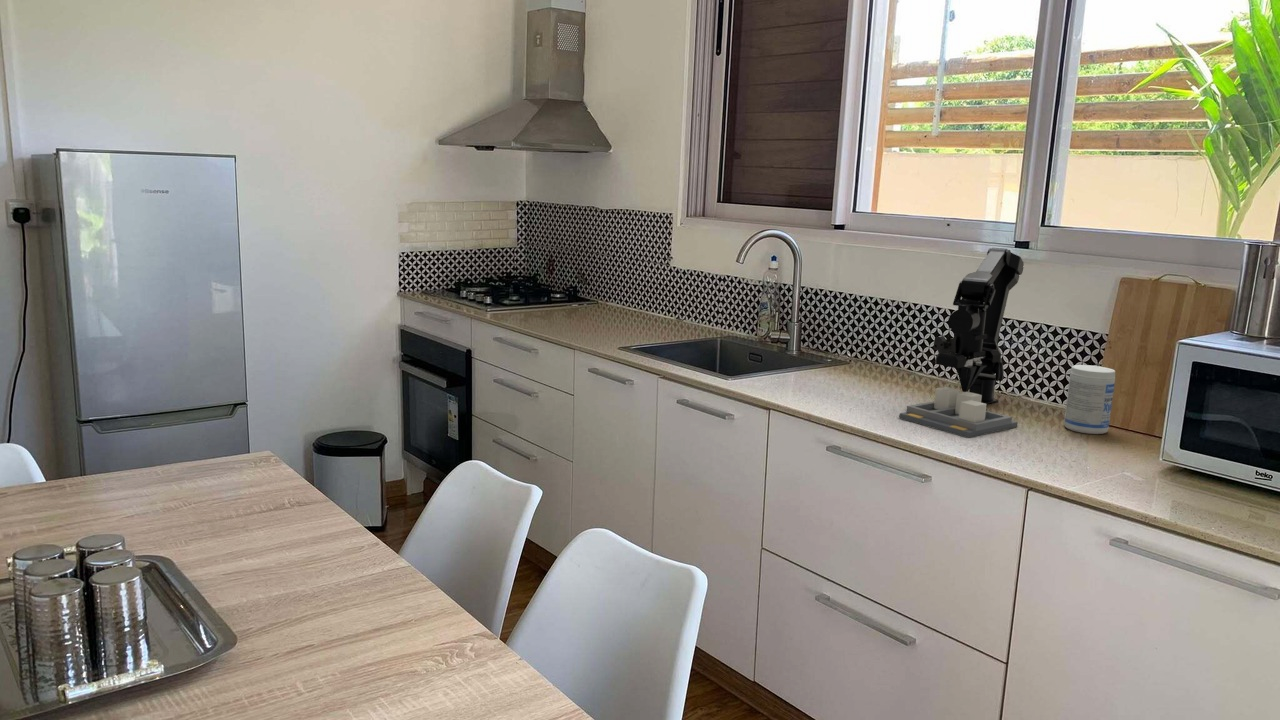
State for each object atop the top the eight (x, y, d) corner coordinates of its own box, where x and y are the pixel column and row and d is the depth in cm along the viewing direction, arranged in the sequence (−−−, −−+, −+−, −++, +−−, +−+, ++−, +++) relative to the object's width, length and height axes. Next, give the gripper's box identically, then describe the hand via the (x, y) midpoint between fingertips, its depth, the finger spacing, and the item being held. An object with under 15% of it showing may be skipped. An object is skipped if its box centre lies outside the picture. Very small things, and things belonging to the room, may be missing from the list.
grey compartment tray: (948, 409, 237) (949, 398, 236) (1017, 427, 222) (1018, 415, 221) (899, 418, 226) (900, 407, 225) (968, 437, 211) (969, 426, 210)
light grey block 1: (965, 411, 228) (967, 391, 227) (979, 415, 225) (981, 395, 224) (954, 413, 226) (957, 393, 225) (969, 417, 223) (971, 396, 222)
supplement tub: (1110, 437, 216) (1119, 374, 213) (1065, 432, 219) (1074, 370, 216) (1104, 427, 225) (1112, 366, 222) (1061, 422, 228) (1068, 362, 225)
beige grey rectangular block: (943, 406, 233) (946, 386, 232) (957, 409, 230) (960, 389, 229) (933, 408, 231) (935, 388, 230) (947, 411, 227) (949, 391, 227)
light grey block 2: (968, 421, 219) (971, 400, 218) (984, 425, 216) (986, 403, 215) (958, 423, 217) (960, 402, 216) (973, 427, 214) (976, 405, 213)
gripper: (966, 321, 242) (959, 381, 246) (920, 326, 232) (914, 389, 235) (1005, 328, 234) (998, 390, 237) (959, 333, 223) (952, 398, 226)
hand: (964, 391), depth 234 cm, fingers closed
